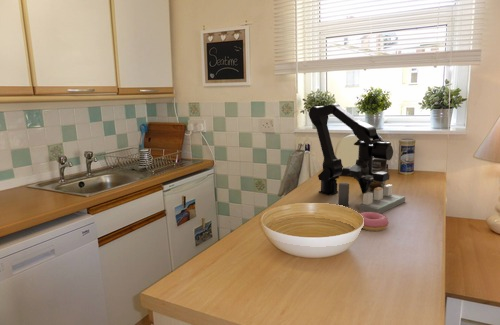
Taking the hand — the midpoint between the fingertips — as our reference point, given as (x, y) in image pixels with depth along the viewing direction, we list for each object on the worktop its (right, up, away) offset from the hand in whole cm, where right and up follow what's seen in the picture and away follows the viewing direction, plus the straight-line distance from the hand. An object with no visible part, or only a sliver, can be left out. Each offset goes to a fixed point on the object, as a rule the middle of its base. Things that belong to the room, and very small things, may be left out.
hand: (363, 193), depth 152 cm
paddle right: (+10, -1, +1) cm, 10 cm away
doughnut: (-6, -9, -27) cm, 29 cm away
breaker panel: (+6, -4, -5) cm, 9 cm away
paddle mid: (+4, -2, -4) cm, 6 cm away
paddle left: (-2, -3, -10) cm, 10 cm away
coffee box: (+8, -1, +11) cm, 14 cm away
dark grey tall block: (-10, -4, -5) cm, 12 cm away
